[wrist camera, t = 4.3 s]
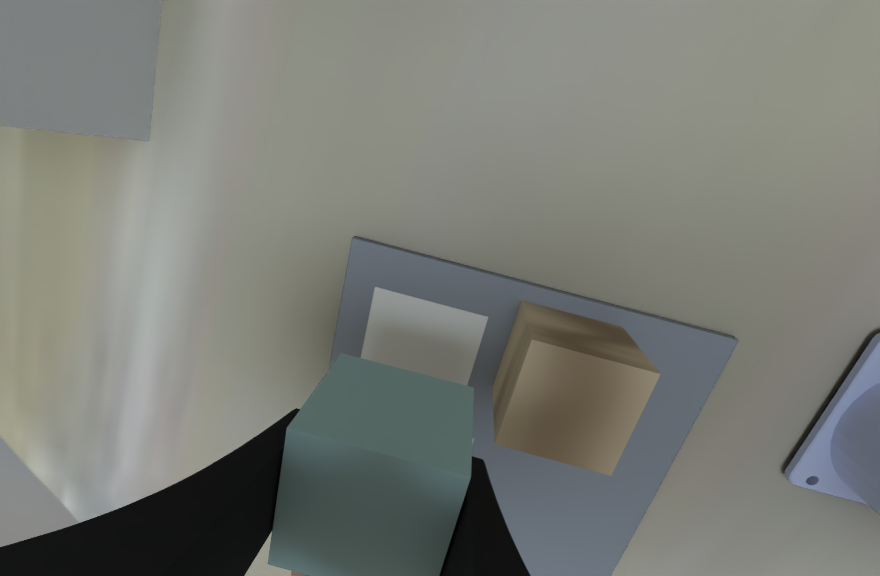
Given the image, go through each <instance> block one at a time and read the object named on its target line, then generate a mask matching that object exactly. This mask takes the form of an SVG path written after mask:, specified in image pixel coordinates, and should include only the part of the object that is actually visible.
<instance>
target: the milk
mask: <svg viewBox="0 0 880 576" xmlns="http://www.w3.org/2000/svg"><path fill="white" fill-rule="evenodd" d="M161 9H162V0H0V126H7V127H16V128H26V129H36V130H46V131H55V132H65V133H75V134H84V135H94V136H104V137H113V138H123V139H133V140H143V141H149V138H150V128H151V117H152V106H153V95H154V84H155V74H156V63H157V52H158V41H159V31H160V20H161Z"/></svg>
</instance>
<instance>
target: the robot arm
mask: <svg viewBox="0 0 880 576" xmlns="http://www.w3.org/2000/svg"><path fill="white" fill-rule="evenodd" d="M299 411H300V409H297V408H296V409H294V410H293V411H291V412H290V413H288V414H287V415H286V416H284V417H283V418H281V419H280V420H279V421H277V422H276V423H275V424H273V425H272V426H270V427H269V428H267V429H266V430H265V431H263V432H262V433H260V434H259V435H257V436H256V437H254V438H253V439H251V440H250V441H248V442H247V443H245V444H244V445H242V446H241V447H239V448H238V449H236V450H234V451H233V452H231V453H229V454H228V455H226V456H224V457H223V458H221V459H219V460H218V461H216V462H214V463H213V464H211V465H209V466H208V467H206V468H204V469H202V470H200V471H199V472H197V473H195V474H193V475H191V476H189V477H187V478H185V479H183V480H182V481H180V482H178V483H176V484H174V485H172V486H170V487H167V488H165V489H163V490H161V491H159V492H157V493H154V494H152V495H150V496H147V497H145V498H143V499H140V500H138V501H136V502H134V503H131V504H129V505H127V506H124V507H122V508H119V509H117V510H114V511H111V512H109V513H106V514H103V515H101V516H98V517H95V518H92V519H90V520H87V521H84V522H81V523H78V524H76V525H72V526H69V527H66V528H63V529H61V530H57V531H54V532H50V533H47V534H44V535H40V536H37V537H34V538H31V539H27V540H24V541H20V542H17V543H14V544H10V545H7V546H3V547H0V576H244V575H245V573H246V572H247V570H248V569H249V567H250V565H251V564H252V562H253V560H254V559H255V557H256V556H257V554H258V552H259V551H260V549H261V548H262V546H263V544H264V543H265V541H266V539H267V538H268V536H269V535H270V533H271V531H272V530H273V523H274V516H275V509H276V501H277V494H278V487H279V480H280V473H281V466H282V458H283V451H284V444H285V437H286V430H287V427H288V426H289V424H290V423H291V421H292V420H293V419H294V417H295V416H296V415H297V413H298V412H299ZM785 477H786V478H787V479H788V480H789V481H790V482H791V483H792V484H794V485H796V486H800V487H804V488H807V489H811V490H815V491H818V492H822V493H826V494H829V495H833V496H837V497H840V498H844V499H848V500H852V501H855V502H859V503H863V504H866V505H869V506H870V507H871V508H872V509H874V510H875V511H876V512H877V513H878V514H879V515H880V333H878V334H876V335H875V336H874V337H873V338H872V340H871V341H870V343H869V344H868V346H867V347H866V349H865V350H864V352H863V353H862V355H861V356H860V358H859V360H858V361H857V363H856V364H855V366H854V367H853V369H852V370H851V372H850V373H849V375H848V376H847V378H846V379H845V381H844V382H843V384H842V385H841V387H840V388H839V390H838V391H837V393H836V394H835V396H834V397H833V399H832V400H831V402H830V403H829V405H828V406H827V408H826V409H825V411H824V412H823V414H822V415H821V417H820V418H819V420H818V421H817V423H816V424H815V426H814V427H813V429H812V430H811V432H810V433H809V435H808V436H807V438H806V439H805V441H804V443H803V444H802V446H801V447H800V449H799V450H798V452H797V453H796V455H795V456H794V458H793V459H792V461H791V462H790V464H789V465H788V467H787V468H786V470H785ZM809 477H810V478H809ZM440 576H531V575H530V573H529V571H528V570H527V568H526V566H525V564H524V562H523V560H522V558H521V556H520V553H519V551H518V549H517V547H516V545H515V543H514V541H513V538H512V536H511V534H510V531H509V529H508V527H507V524H506V522H505V519H504V517H503V514H502V512H501V509H500V507H499V504H498V501H497V499H496V496H495V493H494V490H493V487H492V484H491V481H490V478H489V475H488V471H487V468H486V464H485V462H484V460H483V459H480V458H477V457H473V456H472V463H471V479H470V482H469V485H468V488H467V491H466V494H465V497H464V500H463V503H462V506H461V510H460V513H459V516H458V519H457V522H456V525H455V528H454V531H453V534H452V537H451V541H450V544H449V547H448V550H447V553H446V556H445V559H444V562H443V565H442V568H441V572H440Z"/></svg>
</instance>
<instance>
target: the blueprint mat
mask: <svg viewBox="0 0 880 576" xmlns="http://www.w3.org/2000/svg"><path fill="white" fill-rule="evenodd" d="M521 300H523V301H527V302H531V303H534V304H538V305H542V306H546V307H549V308H553V309H557V310H561V311H564V312H568V313H572V314H576V315H580V316H583V317H587V318H591V319H595V320H598V321H602V322H606V323H610V324H613V325H617V326H621V327H623V328H624V329H625V331H626V332H627V333H628V334H629V335H630V337H631V338H632V339H633V340H634V342H635V343H636V344H637V345H638V347H639V348H640V349H641V350H642V352H643V353H644V354H645V355H646V357H647V358H648V359H649V360H650V361H651V363H652V364H653V365H654V366H655V368H656V369H657V370H658V371H659V373H660V376H659V378H658V381H657V383H656V385H655V387H654V389H653V391H652V393H651V395H650V397H649V399H648V401H647V403H646V405H645V407H644V409H643V411H642V413H641V415H640V418H639V420H638V422H637V424H636V426H635V428H634V430H633V432H632V434H631V436H630V438H629V440H628V442H627V444H626V446H625V448H624V450H623V452H622V455H621V457H620V459H619V461H618V463H617V465H616V467H615V469H614V471H613V473H612V475H611V476H610V475H606V474H602V473H599V472H595V471H591V470H588V469H584V468H580V467H577V466H573V465H569V464H566V463H562V462H558V461H555V460H551V459H547V458H544V457H540V456H536V455H532V454H529V453H525V452H521V451H518V450H514V449H510V448H507V447H503V446H499V445H496V444H495V440H494V415H493V390H492V387H493V384H494V381H495V378H496V375H497V372H498V369H499V366H500V363H501V360H502V357H503V354H504V351H505V348H506V345H507V342H508V339H509V336H510V333H511V330H512V327H513V324H514V321H515V318H516V315H517V312H518V309H519V306H520V303H521ZM738 341H739V340H738V339H736V338H735V337H733V336H730V335H726V334H722V333H719V332H715V331H711V330H707V329H704V328H700V327H696V326H692V325H688V324H685V323H681V322H677V321H673V320H670V319H666V318H662V317H658V316H655V315H651V314H647V313H643V312H639V311H636V310H632V309H628V308H624V307H621V306H617V305H613V304H609V303H605V302H602V301H598V300H594V299H590V298H587V297H583V296H579V295H575V294H571V293H568V292H564V291H560V290H556V289H553V288H549V287H545V286H541V285H538V284H534V283H530V282H526V281H522V280H519V279H515V278H511V277H507V276H504V275H500V274H496V273H492V272H488V271H485V270H481V269H477V268H473V267H470V266H466V265H462V264H458V263H454V262H451V261H447V260H443V259H439V258H436V257H432V256H428V255H424V254H420V253H417V252H413V251H409V250H405V249H402V248H398V247H394V246H390V245H387V244H383V243H379V242H375V241H371V240H368V239H364V238H360V237H356V236H354V237H353V238H352V241H351V247H350V253H349V259H348V264H347V270H346V276H345V281H344V287H343V293H342V298H341V304H340V310H339V315H338V321H337V327H336V332H335V338H334V344H333V349H332V355H331V361H330V366H329V370H330V368H331V367H332V366H333V364H334V363H335V362H336V360H337V359H338V357H339V356H340V355H341V353H343V354H347V355H351V356H355V357H359V358H362V359H366V360H370V361H374V362H378V363H382V364H385V365H389V366H393V367H397V368H401V369H405V370H408V371H412V372H416V373H420V374H424V375H427V376H431V377H435V378H439V379H443V380H447V381H450V382H454V383H458V384H462V385H466V386H470V387H473V388H474V404H473V433H472V456H473V457H477V458H480V459H483V460H484V462H485V464H486V468H487V471H488V475H489V478H490V481H491V484H492V487H493V490H494V493H495V496H496V499H497V501H498V504H499V507H500V509H501V512H502V514H503V517H504V519H505V522H506V524H507V527H508V529H509V531H510V534H511V536H512V538H513V541H514V543H515V545H516V547H517V549H518V551H519V553H520V556H521V558H522V560H523V562H524V564H525V566H526V568H527V570H528V571H529V573H530V575H531V576H611V575H612V573H613V571H614V569H615V567H616V566H617V564H618V562H619V560H620V558H621V556H622V555H623V553H624V551H625V549H626V547H627V545H628V543H629V542H630V540H631V538H632V536H633V534H634V532H635V531H636V529H637V527H638V525H639V523H640V521H641V520H642V518H643V516H644V514H645V512H646V510H647V508H648V507H649V505H650V503H651V501H652V499H653V497H654V496H655V494H656V492H657V490H658V488H659V486H660V485H661V483H662V481H663V479H664V477H665V475H666V473H667V472H668V470H669V468H670V466H671V464H672V462H673V461H674V459H675V457H676V455H677V453H678V451H679V449H680V448H681V446H682V444H683V442H684V440H685V438H686V437H687V435H688V433H689V431H690V429H691V427H692V426H693V424H694V422H695V420H696V418H697V416H698V414H699V413H700V411H701V409H702V407H703V405H704V403H705V402H706V400H707V398H708V396H709V394H710V392H711V391H712V389H713V387H714V385H715V383H716V381H717V379H718V378H719V376H720V374H721V372H722V370H723V368H724V367H725V365H726V363H727V361H728V359H729V357H730V356H731V354H732V352H733V350H734V348H735V346H736V344H737V343H738ZM439 576H440V575H439Z"/></svg>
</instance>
